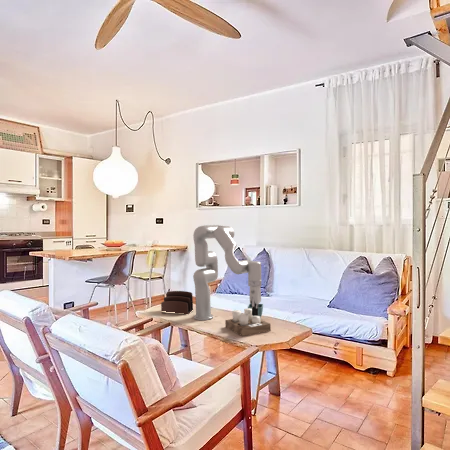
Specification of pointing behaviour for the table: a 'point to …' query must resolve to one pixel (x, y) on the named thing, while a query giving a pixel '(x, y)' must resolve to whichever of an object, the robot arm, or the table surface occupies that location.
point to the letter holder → (178, 302)
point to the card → (255, 325)
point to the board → (247, 327)
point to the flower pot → (260, 309)
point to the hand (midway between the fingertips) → (255, 315)
